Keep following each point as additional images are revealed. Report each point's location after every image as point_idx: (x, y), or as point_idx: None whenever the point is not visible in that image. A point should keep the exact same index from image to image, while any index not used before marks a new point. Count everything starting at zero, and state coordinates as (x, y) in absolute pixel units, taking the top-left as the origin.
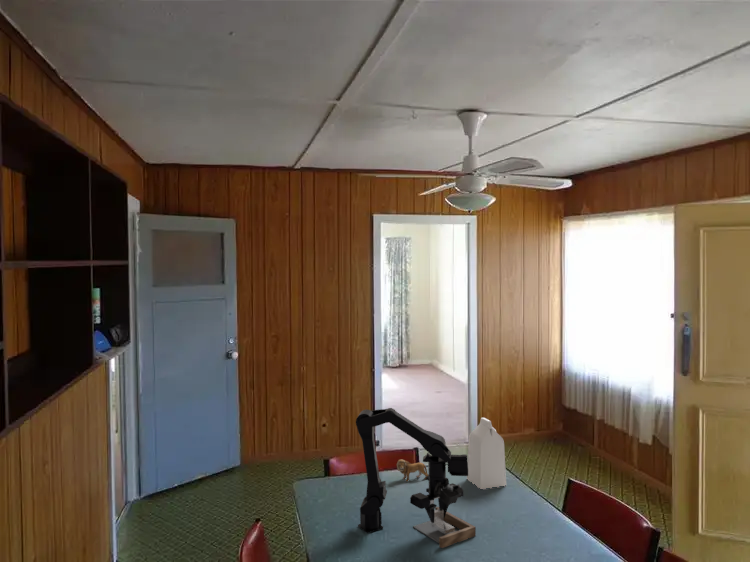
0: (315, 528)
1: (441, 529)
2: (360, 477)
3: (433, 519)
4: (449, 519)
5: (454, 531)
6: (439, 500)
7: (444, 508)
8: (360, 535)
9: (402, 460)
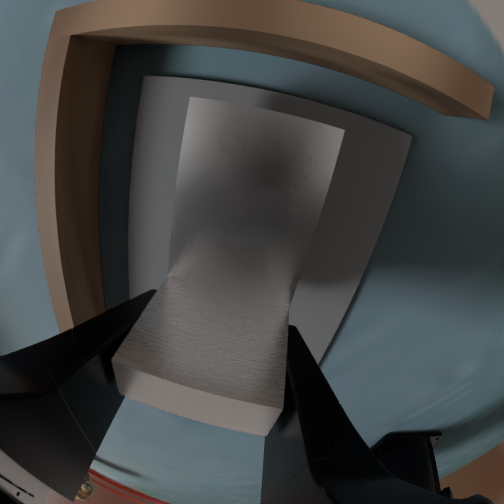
0: (442, 473)
1: (322, 196)
2: (165, 498)
3: (297, 348)
4: (84, 278)
5: (155, 155)
6: (82, 463)
7: (90, 367)
8: (457, 430)
9: (76, 497)
